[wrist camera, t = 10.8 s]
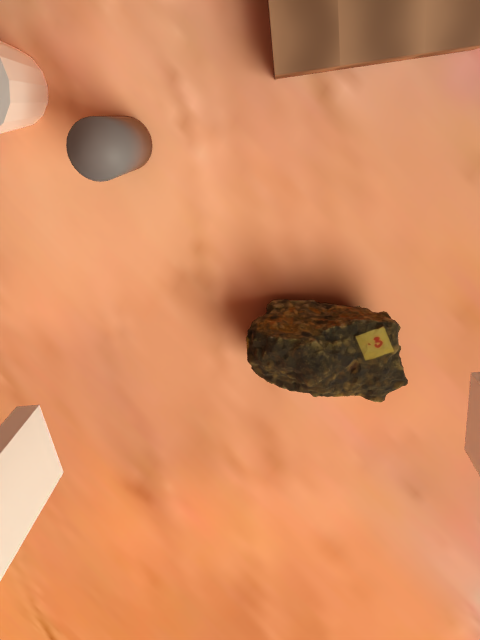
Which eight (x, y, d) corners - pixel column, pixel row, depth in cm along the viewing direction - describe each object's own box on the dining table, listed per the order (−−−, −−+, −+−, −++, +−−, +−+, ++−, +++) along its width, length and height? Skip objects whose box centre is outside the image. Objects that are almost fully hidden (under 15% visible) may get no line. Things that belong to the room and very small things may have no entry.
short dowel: (109, 173, 37) (75, 185, 31) (96, 120, 36) (59, 121, 30) (156, 166, 37) (132, 177, 31) (146, 112, 35) (118, 112, 29)
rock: (265, 439, 37) (251, 365, 33) (246, 369, 45) (232, 300, 40) (411, 404, 38) (418, 326, 33) (368, 340, 45) (369, 270, 41)
